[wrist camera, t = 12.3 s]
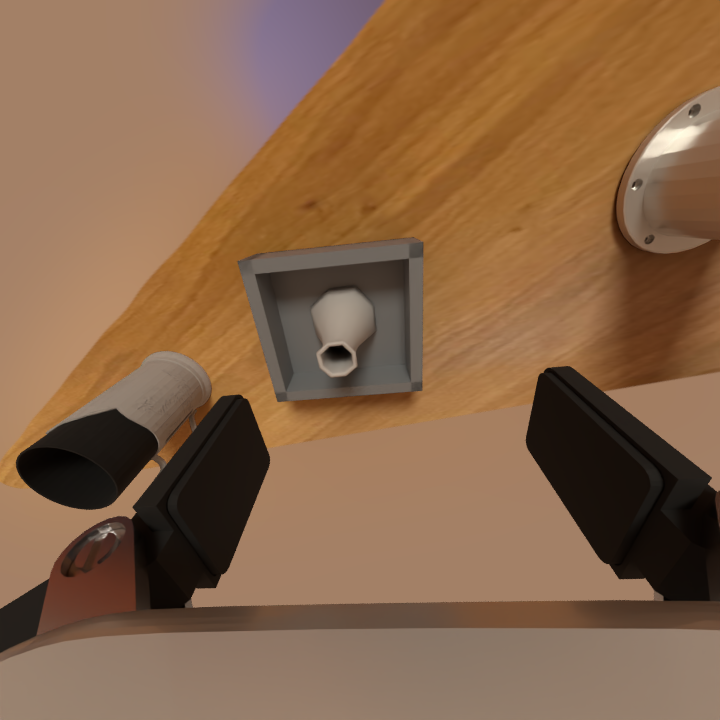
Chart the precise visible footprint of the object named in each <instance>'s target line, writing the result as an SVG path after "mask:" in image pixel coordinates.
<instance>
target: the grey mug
mask: <svg viewBox="0 0 720 720" xmlns="http://www.w3.org/2000/svg"><path fill="white" fill-rule="evenodd" d="M211 389H212V388H211V382H210V379H209V377H208V375H207V373H206V372H205V371H204V369H203V368H202V367H201V366H200V365H199V364H198V363H196V362H195V361H194V360H192V359H190V358H189V357H187V356H185V355H182V354H179V353H176V352H170V351H161V352H156V353H153V354H151V355H149V356H148V357H147V358H146V359H145V360H144V361H143V362H142V365H141V367H139V368H138V369H136V370H135V371H134V372H132V373H131V374H129V375H128V376H126V377H125V378H124V379H122V380H121V381H119V382H118V383H116V384H115V385H113V386H112V387H111V388H109V389H108V390H106V391H105V392H103V393H102V394H100V395H99V396H98V397H96V398H95V399H93V400H92V401H90V402H89V403H88V404H86V405H85V406H83V407H82V408H80V409H79V410H77V411H76V412H75V413H73V414H72V415H70V416H69V417H67V418H66V419H65V420H63V421H62V422H60V423H59V424H57V425H56V426H54V427H53V428H51V429H50V430H49V431H47V432H46V434H47V435H46V436H44V437H43V438H41V439H40V440H39V441H37V442H36V443H34V444H33V445H31V446H30V447H29V448H27V449H26V450H24V451H23V452H22V453H20V455H19V456H18V457H17V460H16V468H17V471H18V473H19V475H20V477H21V478H22V479H23V481H24V482H25V483H26V484H27V485H28V486H29V487H30V488H32V489H33V490H34V491H36V492H37V493H38V494H40V495H42V496H43V497H45V498H47V499H49V500H51V501H53V502H56V503H59V504H61V505H64V506H68V507H72V508H77V509H86V510H93V509H101V508H104V507H107V506H109V505H111V504H112V503H113V502H114V501H115V500H116V499H117V498H118V497H119V496H120V494H121V493H122V492H123V491H124V490H125V488H126V487H127V486H128V485H129V484H130V483H131V482H132V480H133V479H134V478H135V477H136V476H137V475H138V473H139V472H140V471H141V470H142V469H143V468H144V466H145V465H146V464H147V463H148V462H149V461H150V460H154V461H155V462H157V463H158V464H159V465H160V468H161V470H160V472H161V471H162V470H163V468H164V467H165V466H166V465H167V464H166V462H165V461H164V459H162V458H161V457H160V456H158V455H157V454H158V453H159V452H160V451H161V449H162V448H163V447H164V446H165V445H166V443H167V442H168V441H169V440H170V439H171V438H172V436H173V435H174V434H175V433H176V432H177V430H178V429H179V428H180V427H181V426H182V425H183V423H184V422H185V421H186V420H187V419H188V417H189V422H190V426H191V430H192V432H193V431H194V430H195V429H196V427H197V426H196V422H195V418H194V415H195V413H196V412H197V410H195V409H196V408H198V407H200V406H202V405H203V404H205V403H206V402H207V401H208V399H209V397H210V395H211ZM160 472H159V473H160ZM158 475H159V474H158ZM158 475H157V476H158ZM154 480H155V479H154Z"/></svg>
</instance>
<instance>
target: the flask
mask: <svg viewBox="0 0 720 720" xmlns="http://www.w3.org/2000/svg"><path fill="white" fill-rule="evenodd" d="M310 311H311V316H312V320H313V325H314V329H315V333H316V335H317V336H318V337H319V339H320V340H321V342H322V344H323V346H322V348H321V349H320V350H319V351H318V352H317V353H316V355H317V360H318V364H319V368H320V369H321V370H322V371H324V372H325V373H326V374H327V375H328V376H330V377H331V378H333V377H342V376H347V375H348V374H349V373H350V372H352V371H353V370H354V369H355V368H356V367H357V366H358V364H357V358H356V350H357V348H358V346H359V345H361V344H362V343H363V342H364V341H365V340H366V339H367V338H368V337H370V336H371V335H372V334H373V333H374V332H375V331H376V330H377V327H376V317H375V308H374V304H373V303H372V302H371V301H370V300H369V299H368V298H367V297H366V296H365V295H364V294H363V293H362V292H361V291H360V290H359V289H358V288H357V287H356V286H348V287H340V288H332V289H328V290H327V291H326V292H325V293H324V294H323V295H322V296H321V297H320V298H319V299H318V300H317V301H316V302H315V303H314V304H313V305H312V306H311V307H310Z"/></svg>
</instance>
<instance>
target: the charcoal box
mask: <svg viewBox="0 0 720 720" xmlns="http://www.w3.org/2000/svg"><path fill="white" fill-rule="evenodd" d="M238 265H239V268H240V272H241V275H242V279H243V282H244V286H245V289H246V293H247V296H248V300H249V303H250V307H251V310H252V314H253V317H254V321H255V324H256V328H257V331H258V335H259V338H260V342H261V345H262V349H263V352H264V356H265V359H266V363H267V366H268V370H269V373H270V377H271V380H272V384H273V387H274V391H275V394H276V398H277V401H278V402H283V401H296V400H309V399H322V398H335V397H347V396H360V395H373V394H386V393H399V392H412V391H422V352H423V242H422V241H420V240H418V239H416V238H414V237H412V238H403V239H393V240H384V241H374V242H365V243H355V244H346V245H336V246H327V247H317V248H308V249H298V250H288V251H279V252H269V253H260V254H255V255H252V256H250V257H247V258H245V259H242V260H240V261H238ZM348 286H356V287H357V288H358V289H359V290H360V291H361V292H362V293H363V294H364V295H365V296H366V297H367V298H368V299H369V300H370V301H371V302H372V303H373V304H374V308H375V317H376V327H377V330H376V331H375V332H374V333H373V334H372V335H371V336H370V337H368V338H367V339H366V340H365V341H364V342H363V343H362V344H361V345H359V346H358V348H357V350H356V358H357V364H358V366H357V367H356V368H355V369H354V370H353V371H352V372H350V373H349V374H348V375H347V376H342V377H333V378H331V377H330V376H328V375H327V374H326V373H325V372H324V371H322V370H321V369H320V368H319V364H318V360H317V355H316V353H317V352H318V351H319V350H320V349H321V348H322V346H323V344H322V342H321V340H320V339H319V337H318V336H317V335H316V333H315V329H314V325H313V320H312V316H311V311H310V307H311V306H312V305H313V304H314V303H315V302H316V301H317V300H318V299H319V298H320V297H321V296H322V295H323V294H324V293H325V292H326V291H327V290H328V289H332V288H340V287H348Z"/></svg>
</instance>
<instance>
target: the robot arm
mask: <svg viewBox="0 0 720 720" xmlns="http://www.w3.org/2000/svg"><path fill="white" fill-rule="evenodd" d="M616 208H617V220H618V224H619V228H620V230H621V232H622V234H623V236H624V237H625V239H626V240H627V241H628V242H629V243H631V244H632V245H633V246H635V247H637V248H639V249H640V250H644V251H648V252H653V253H663V254H668V253H678V252H682V251H686V250H690V249H693V248H695V247H698V246H700V245H702V244H705V243H707V242H709V241H710V240H712V239H713V240H720V86H719V87H716V88H713V89H711V90H708V91H705V92H703V93H701V94H699V95H697V96H695V97H693V98H691V99H689V100H688V101H686V102H684V103H683V104H682V105H680V106H679V107H678V108H676V109H675V110H673V111H672V112H671V113H669V114H668V115H667V116H666V117H665V118H664V119H663V120H662V121H661V122H660V123H659V124H658V125H657V126H656V127H655V128H654V129H653V130H652V131H651V132H650V134H649V135H648V136H647V137H646V138H645V139H644V141H643V142H642V143H641V145H640V146H639V148H638V149H637V151H636V152H635V154H634V156H633V157H632V159H631V161H630V163H629V165H628V167H627V169H626V171H625V173H624V175H623V178H622V181H621V185H620V188H619V191H618V198H617V204H616ZM526 445H527V448H528V450H529V451H530V453H531V455H532V456H533V458H534V459H535V461H536V462H537V464H538V465H539V467H540V468H541V470H542V472H543V473H544V475H545V476H546V478H547V479H548V481H549V482H550V483H551V485H552V487H553V488H554V490H555V491H556V493H557V494H558V496H559V497H560V499H561V501H562V502H563V504H564V505H565V507H566V508H567V510H568V511H569V513H570V514H571V516H572V517H573V519H574V520H575V522H576V524H577V525H578V527H579V528H580V530H581V531H582V533H583V534H584V536H585V537H586V539H587V540H588V542H589V543H590V545H591V546H592V548H593V549H594V551H595V553H596V554H597V555H598V557H599V558H600V559H601V560H602V561H603V562H604V563H606V564H609V565H610V566H611V568H612V569H613V570H614V572H615V574H616V575H617V576H618V578H619V579H644V578H646V580H647V581H648V582H649V583H650V585H651V586H652V588H653V589H654V601H629V600H626V601H625V600H622V601H621V600H615V601H614V600H609V601H607V600H606V601H513V602H440V603H376V604H375V603H374V604H322V605H321V604H318V605H273V606H228V607H199V608H193V606H192V601H191V597H192V595H193V593H194V590H195V588H216V586H217V584H218V581H219V579H220V577H221V574H224V573H225V572H226V571H227V569H228V568H229V566H230V563H231V561H232V558H233V556H234V553H235V551H236V548H237V546H238V543H239V541H240V538H241V536H242V533H243V531H244V528H245V526H246V523H247V520H248V518H249V516H250V513H251V510H252V508H253V505H254V503H255V500H256V498H257V495H258V493H259V490H260V488H261V485H262V483H263V480H264V478H265V475H266V473H267V470H268V468H269V464H270V456H269V453H268V451H267V448H266V445H265V443H264V440H263V437H262V435H261V432H260V430H259V427H258V424H257V422H256V419H255V417H254V414H253V411H252V409H251V406H250V403H249V401H248V400H247V399H245V398H243V397H242V396H241V395H229V396H222V397H221V398H220V399H219V400H218V401H217V402H216V404H215V405H214V406H213V407H212V409H211V410H210V411H209V412H208V414H207V415H206V416H205V417H204V419H203V420H202V421H201V422H200V424H199V425H198V426H197V427H196V429H195V430H194V431H193V432H192V434H191V435H190V436H189V437H188V439H187V440H186V441H185V442H184V444H183V445H182V446H181V447H180V449H179V450H178V451H177V452H176V454H175V455H174V456H173V457H172V458H171V460H170V461H169V462H168V463H167V465H166V466H165V467H164V468H163V470H162V471H161V472H160V473H159V475H158V476H157V477H156V478H155V480H154V481H153V482H152V484H151V485H150V486H149V487H148V488H147V490H146V491H145V492H144V493H143V495H142V496H141V497H140V498H139V500H138V501H137V502H136V503H135V505H134V506H133V509H134V510H135V511H136V512H137V513H136V514H135V515H134V517H133V518H132V519H129V518H128V517H125V516H117V517H113V518H109V519H106V520H104V521H102V522H100V523H98V524H96V525H94V526H92V527H91V528H89V529H88V530H86V531H84V533H82V534H81V535H80V536H78V537H77V538H76V539H75V540H74V541H72V542H71V543H70V544H69V545H68V547H67V548H66V549H65V550H64V551H63V552H62V553H61V555H60V556H59V557H58V559H57V560H56V562H55V563H54V566H53V568H52V571H51V574H50V578H49V579H48V580H46V581H45V582H43V583H41V584H40V585H38V586H37V587H35V588H33V589H32V590H30V591H28V592H27V593H25V594H24V595H22V596H20V597H19V598H17V599H16V600H14V601H12V602H11V603H9V604H8V605H6V606H4V607H3V608H1V609H0V720H720V491H718V492H717V491H715V490H714V489H713V488H711V487H710V486H709V485H708V483H709V482H710V480H711V479H712V477H710V476H709V475H708V474H706V473H705V472H704V471H703V470H701V469H700V468H699V467H698V466H696V465H695V464H694V463H693V462H691V461H690V460H689V459H687V458H686V457H685V456H684V455H682V454H681V453H680V452H679V451H677V450H676V449H674V448H673V447H672V446H671V445H670V444H668V443H667V442H666V441H665V440H663V439H662V438H661V437H660V436H658V435H657V434H656V433H654V432H653V431H652V430H651V429H649V428H648V427H647V426H645V425H644V424H643V423H642V422H640V421H639V420H638V419H637V418H635V417H634V416H633V415H632V414H630V413H629V412H628V411H626V410H625V409H624V408H623V407H621V406H620V405H619V404H618V403H616V402H615V401H614V400H612V399H611V398H610V397H609V396H607V395H606V394H605V393H604V392H602V391H601V390H600V389H599V388H597V387H596V386H595V385H593V384H592V383H591V382H590V381H588V380H587V379H586V378H585V377H583V376H582V375H581V374H579V373H578V372H577V371H576V370H574V369H573V368H572V367H570V366H564V367H552V368H547V369H546V370H545V371H544V373H541V374H540V375H539V377H538V381H537V386H536V391H535V396H534V401H533V406H532V411H531V416H530V421H529V426H528V431H527V436H526Z"/></svg>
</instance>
